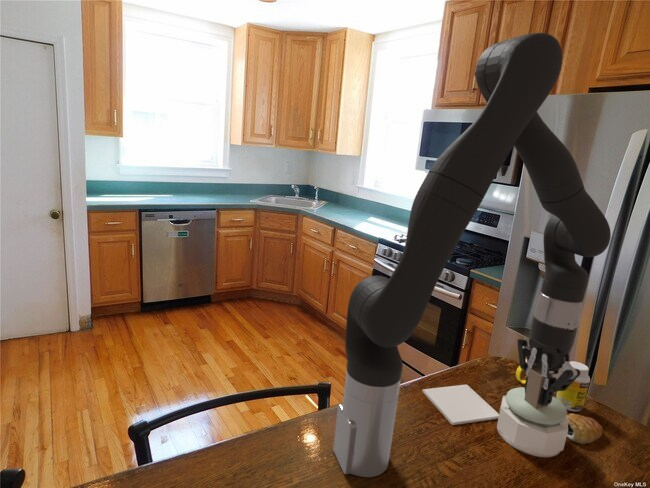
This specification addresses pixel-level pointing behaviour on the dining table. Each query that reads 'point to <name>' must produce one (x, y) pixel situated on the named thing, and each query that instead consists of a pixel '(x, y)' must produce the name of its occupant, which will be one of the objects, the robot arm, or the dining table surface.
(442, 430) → the dining table surface
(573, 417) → the pastry
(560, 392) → the supplement bottle
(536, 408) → the lid
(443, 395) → the mat
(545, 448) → the bowl
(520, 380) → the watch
